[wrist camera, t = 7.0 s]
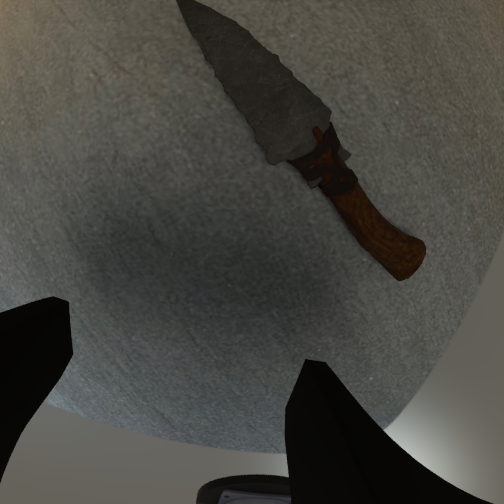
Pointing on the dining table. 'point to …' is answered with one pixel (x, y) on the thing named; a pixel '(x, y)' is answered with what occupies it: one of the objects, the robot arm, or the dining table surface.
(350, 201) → the knife
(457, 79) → the dining table surface
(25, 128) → the dining table surface
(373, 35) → the dining table surface
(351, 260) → the dining table surface
